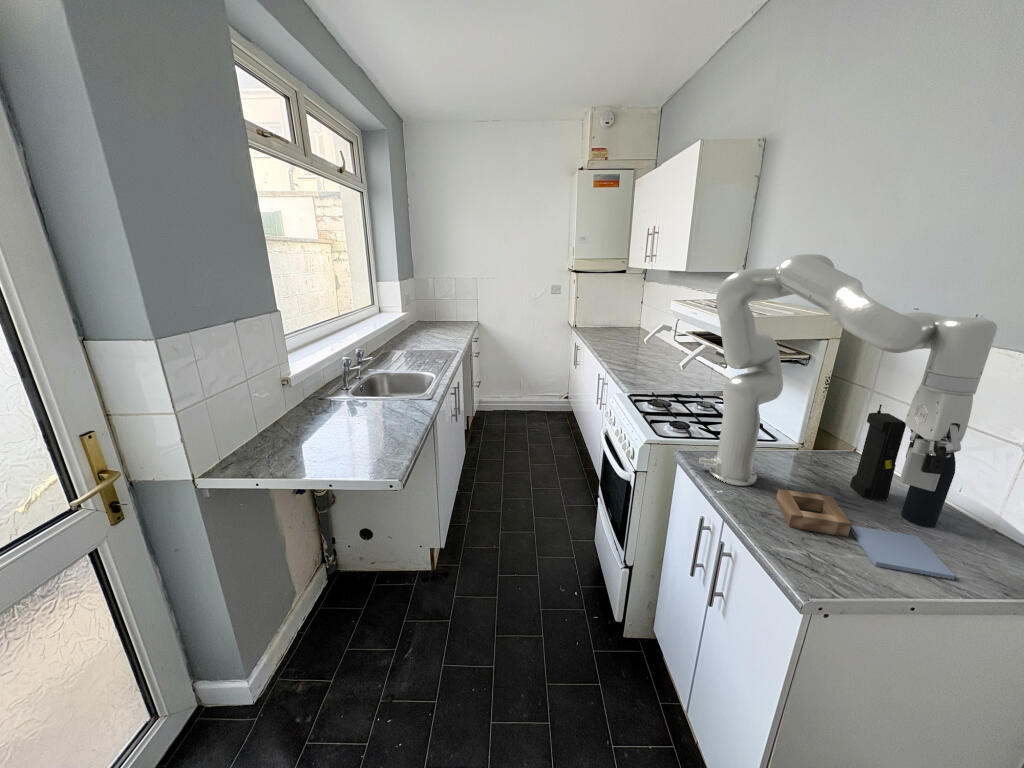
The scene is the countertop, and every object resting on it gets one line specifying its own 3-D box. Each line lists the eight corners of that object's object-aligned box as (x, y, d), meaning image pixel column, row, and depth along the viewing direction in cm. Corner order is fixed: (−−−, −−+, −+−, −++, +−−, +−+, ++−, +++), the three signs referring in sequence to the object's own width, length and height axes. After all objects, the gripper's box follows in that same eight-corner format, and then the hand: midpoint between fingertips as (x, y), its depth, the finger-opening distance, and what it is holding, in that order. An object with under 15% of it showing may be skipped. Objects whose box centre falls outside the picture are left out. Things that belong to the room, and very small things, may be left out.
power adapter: (900, 476, 89) (916, 425, 85) (935, 486, 85) (953, 433, 81) (898, 481, 87) (914, 429, 83) (934, 492, 83) (952, 437, 79)
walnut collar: (788, 526, 100) (791, 514, 99) (775, 500, 111) (778, 488, 109) (847, 536, 96) (851, 523, 95) (828, 508, 107) (831, 496, 106)
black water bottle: (893, 512, 105) (928, 402, 96) (917, 511, 105) (955, 401, 96) (918, 528, 99) (958, 412, 90) (943, 527, 99) (986, 411, 90)
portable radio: (891, 503, 108) (918, 415, 101) (865, 501, 110) (889, 414, 102) (873, 487, 116) (896, 404, 108) (848, 485, 117) (870, 403, 110)
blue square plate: (875, 565, 87) (876, 561, 87) (849, 528, 99) (850, 525, 98) (953, 580, 83) (955, 575, 83) (916, 539, 95) (918, 536, 94)
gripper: (901, 369, 88) (880, 446, 93) (953, 393, 73) (923, 484, 78) (946, 372, 86) (921, 451, 91) (1008, 397, 70) (975, 490, 76)
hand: (923, 465), depth 85 cm, fingers closed on power adapter, 4 cm apart
